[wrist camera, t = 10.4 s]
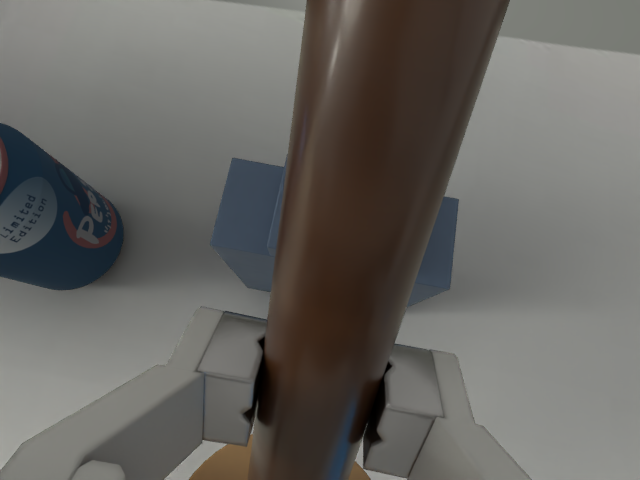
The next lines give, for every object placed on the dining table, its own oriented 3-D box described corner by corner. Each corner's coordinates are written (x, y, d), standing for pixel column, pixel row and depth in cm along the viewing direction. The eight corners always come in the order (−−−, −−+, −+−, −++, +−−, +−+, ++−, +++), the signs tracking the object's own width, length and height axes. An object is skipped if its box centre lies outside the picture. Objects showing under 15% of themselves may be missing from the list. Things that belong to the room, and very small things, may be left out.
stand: (390, 314, 29) (463, 284, 16) (247, 287, 29) (200, 235, 16) (398, 258, 30) (473, 185, 17) (259, 232, 30) (225, 140, 17)
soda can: (151, 249, 29) (50, 181, 18) (63, 314, 28) (-110, 287, 16) (95, 177, 30) (-33, 70, 19) (9, 236, 29) (-188, 160, 17)
